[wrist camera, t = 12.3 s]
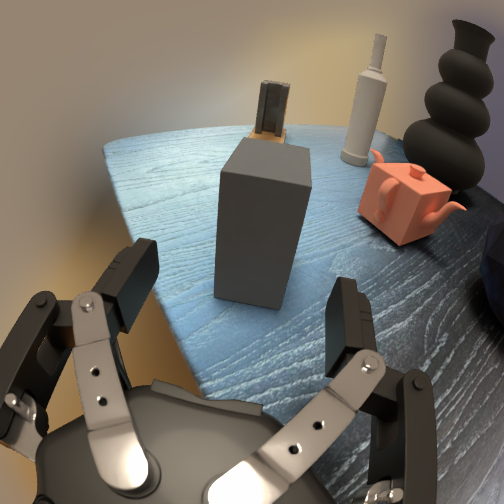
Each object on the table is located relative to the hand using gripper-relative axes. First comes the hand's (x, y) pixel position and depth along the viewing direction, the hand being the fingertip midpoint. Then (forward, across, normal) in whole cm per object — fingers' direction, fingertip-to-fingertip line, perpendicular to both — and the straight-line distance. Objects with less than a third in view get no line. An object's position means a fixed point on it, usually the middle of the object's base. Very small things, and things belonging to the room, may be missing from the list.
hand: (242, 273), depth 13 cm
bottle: (+44, -14, +8) cm, 46 cm away
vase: (+45, -32, +8) cm, 56 cm away
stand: (+45, +3, +8) cm, 46 cm away
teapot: (+22, -16, +8) cm, 28 cm away
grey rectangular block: (+9, 0, +8) cm, 12 cm away
